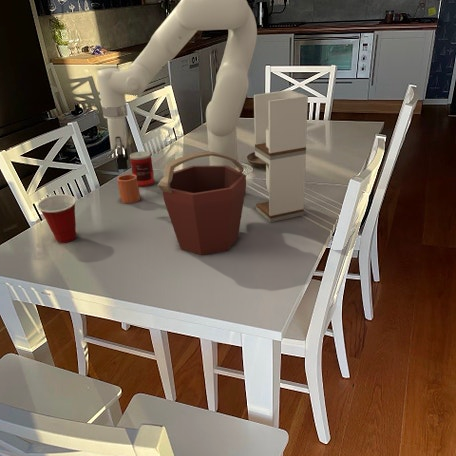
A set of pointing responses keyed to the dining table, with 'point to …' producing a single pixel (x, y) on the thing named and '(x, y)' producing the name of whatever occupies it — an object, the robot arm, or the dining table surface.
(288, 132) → the tall white stacked tower
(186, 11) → the robot arm
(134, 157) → the canned food
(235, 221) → the bucket
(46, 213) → the plastic cup
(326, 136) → the dining table surface
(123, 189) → the pot
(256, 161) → the plant saucer
